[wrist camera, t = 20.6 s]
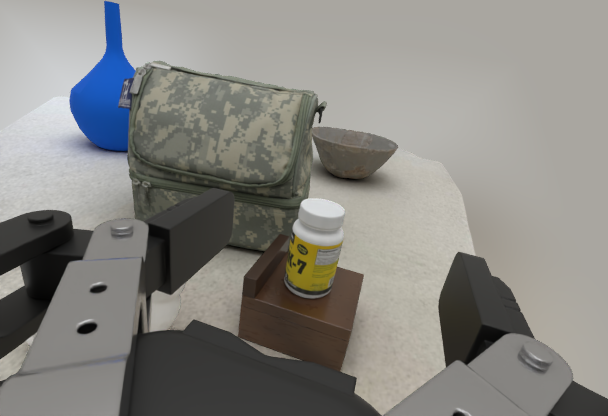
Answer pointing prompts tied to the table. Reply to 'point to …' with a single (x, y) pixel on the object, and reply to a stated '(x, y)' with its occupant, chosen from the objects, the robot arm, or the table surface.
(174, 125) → the lunch bag
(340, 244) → the supplement bottle
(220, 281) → the table surface
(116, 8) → the vase
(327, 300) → the shoe shelf
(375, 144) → the ceramic bowl
